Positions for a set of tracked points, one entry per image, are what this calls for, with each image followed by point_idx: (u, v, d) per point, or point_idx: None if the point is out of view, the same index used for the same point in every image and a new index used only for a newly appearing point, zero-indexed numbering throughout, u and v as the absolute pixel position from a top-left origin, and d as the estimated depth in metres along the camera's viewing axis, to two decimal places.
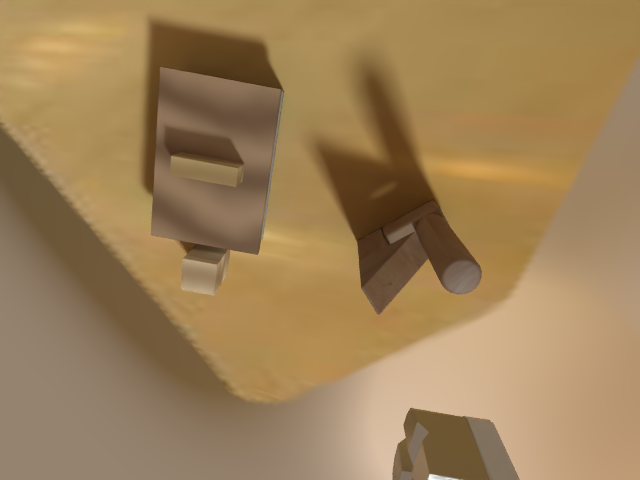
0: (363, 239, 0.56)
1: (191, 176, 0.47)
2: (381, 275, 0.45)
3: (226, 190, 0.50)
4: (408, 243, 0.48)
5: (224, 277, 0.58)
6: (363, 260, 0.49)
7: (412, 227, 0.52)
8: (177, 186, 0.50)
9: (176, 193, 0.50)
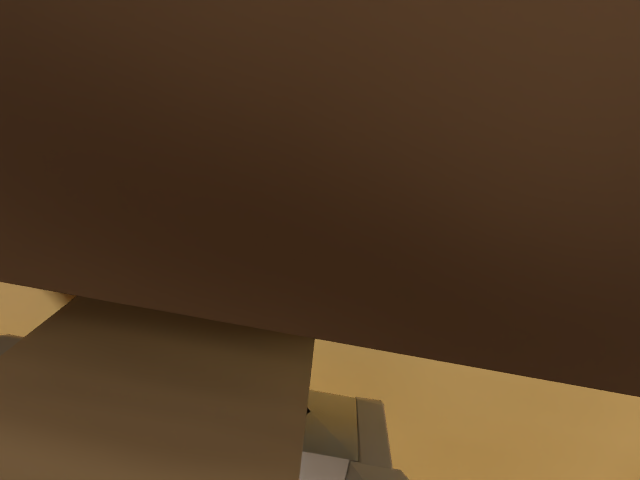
0: None
1: None
2: None
3: None
4: None
5: None
6: None
7: None
8: None
9: None
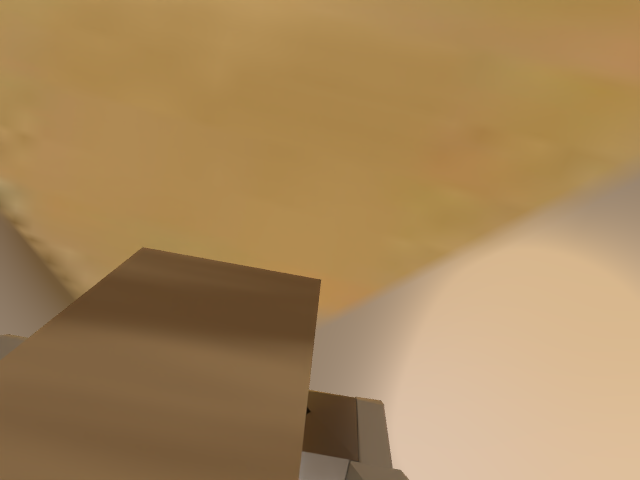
0: None
1: None
2: None
3: None
4: None
5: None
6: None
7: None
8: None
9: None
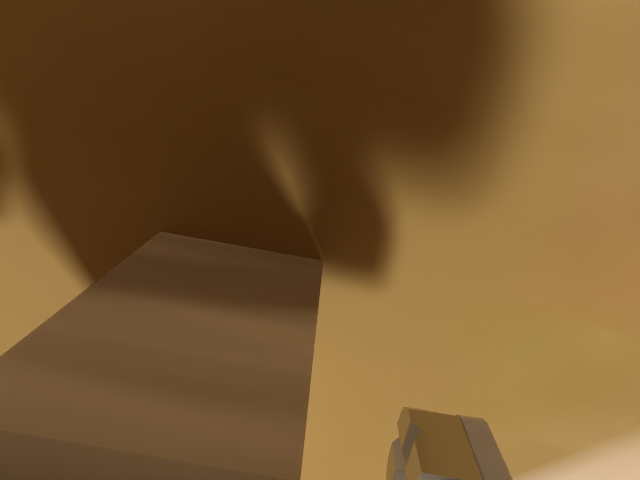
0: None
1: None
2: None
3: None
4: None
5: None
6: None
7: None
8: None
9: None
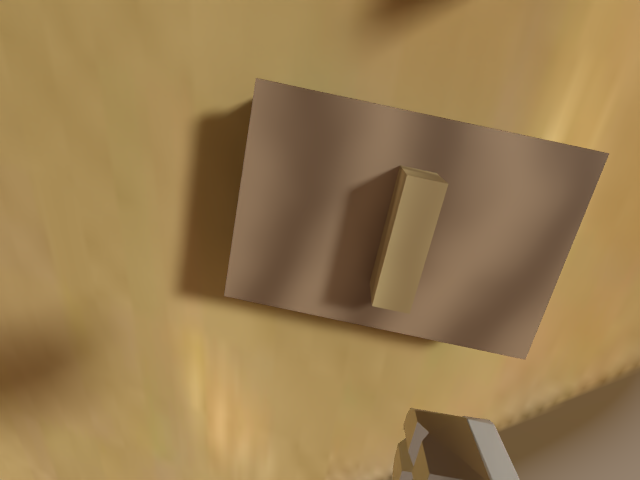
0: None
1: (416, 273, 0.23)
2: None
3: (452, 207, 0.24)
4: None
5: None
6: None
7: None
8: (435, 297, 0.26)
9: (448, 302, 0.26)
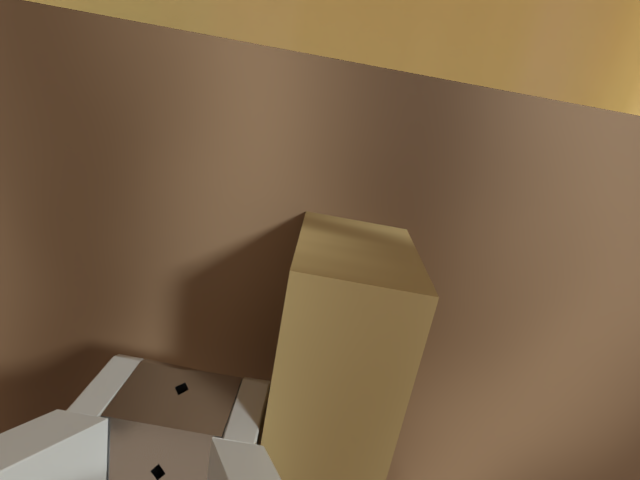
0: None
1: None
2: None
3: (452, 314, 0.09)
4: None
5: None
6: None
7: None
8: None
9: None
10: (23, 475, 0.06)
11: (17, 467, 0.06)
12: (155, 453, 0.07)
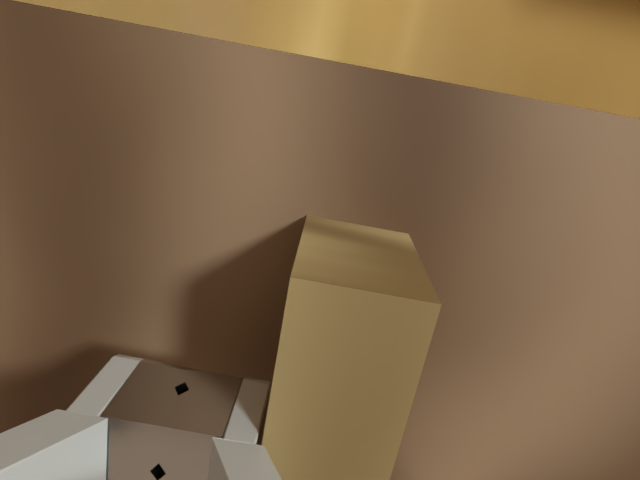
0: None
1: None
2: None
3: (454, 319, 0.09)
4: None
5: None
6: None
7: None
8: None
9: None
10: (23, 475, 0.06)
11: (17, 467, 0.06)
12: (155, 454, 0.07)
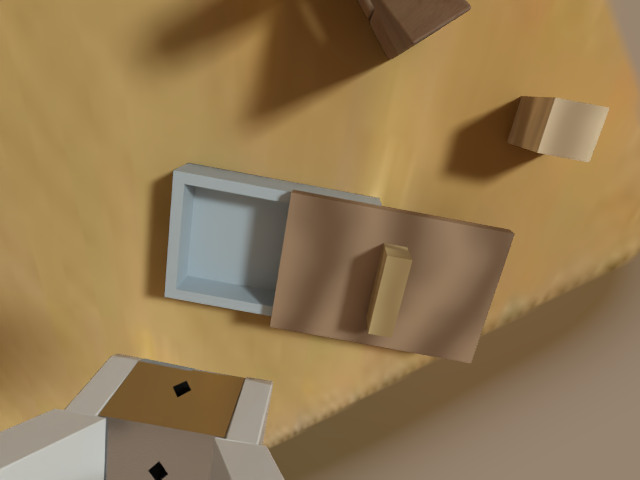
0: (383, 49, 0.37)
1: (395, 313, 0.36)
2: (401, 8, 0.26)
3: (418, 267, 0.38)
4: None
5: None
6: (394, 45, 0.30)
7: None
8: (409, 324, 0.40)
9: (418, 327, 0.40)
10: (20, 475, 0.06)
11: (14, 467, 0.05)
12: (152, 453, 0.07)
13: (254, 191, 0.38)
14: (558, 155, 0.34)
